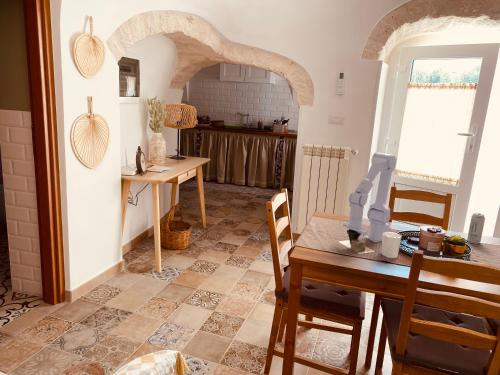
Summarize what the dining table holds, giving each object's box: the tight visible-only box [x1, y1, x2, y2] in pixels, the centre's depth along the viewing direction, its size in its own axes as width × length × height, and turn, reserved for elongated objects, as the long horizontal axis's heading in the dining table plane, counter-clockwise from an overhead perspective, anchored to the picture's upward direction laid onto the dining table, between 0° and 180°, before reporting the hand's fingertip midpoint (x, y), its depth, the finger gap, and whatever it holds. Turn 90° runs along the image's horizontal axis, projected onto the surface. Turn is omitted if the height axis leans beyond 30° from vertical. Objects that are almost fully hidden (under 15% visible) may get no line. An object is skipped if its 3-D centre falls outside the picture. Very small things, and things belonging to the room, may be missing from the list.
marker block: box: [350, 238, 367, 253], centre depth 176 cm, size 4×4×4 cm
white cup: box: [381, 231, 402, 259], centre depth 172 cm, size 8×8×10 cm
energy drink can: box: [467, 212, 486, 245], centre depth 195 cm, size 6×6×15 cm
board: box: [338, 239, 376, 255], centre depth 181 cm, size 9×16×1 cm, turn 24°
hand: (352, 245), depth 180 cm, fingers closed
